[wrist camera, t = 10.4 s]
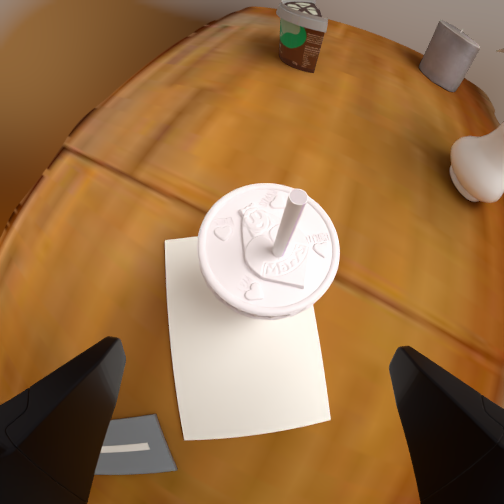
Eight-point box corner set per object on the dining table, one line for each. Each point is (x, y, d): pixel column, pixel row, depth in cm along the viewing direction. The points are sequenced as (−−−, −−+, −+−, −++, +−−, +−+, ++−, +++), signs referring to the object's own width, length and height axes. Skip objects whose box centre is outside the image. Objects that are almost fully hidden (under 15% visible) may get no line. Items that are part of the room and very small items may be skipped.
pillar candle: (432, 66, 42) (454, 20, 28) (462, 93, 38) (489, 46, 24) (410, 63, 40) (432, 10, 26) (442, 92, 37) (472, 38, 23)
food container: (271, 40, 37) (276, -7, 28) (306, 44, 37) (315, -2, 28) (271, 72, 32) (278, 12, 23) (314, 78, 33) (328, 20, 23)
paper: (329, 418, 18) (330, 419, 17) (185, 438, 17) (184, 440, 16) (295, 228, 23) (296, 226, 23) (166, 242, 22) (164, 240, 22)
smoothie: (243, 352, 19) (255, 343, 6) (198, 280, 21) (143, 158, 8) (313, 304, 21) (420, 219, 8) (267, 239, 23) (301, 96, 10)
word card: (177, 468, 16) (176, 470, 15) (95, 473, 14) (92, 474, 14) (155, 413, 17) (154, 414, 17) (75, 422, 16) (72, 423, 16)
